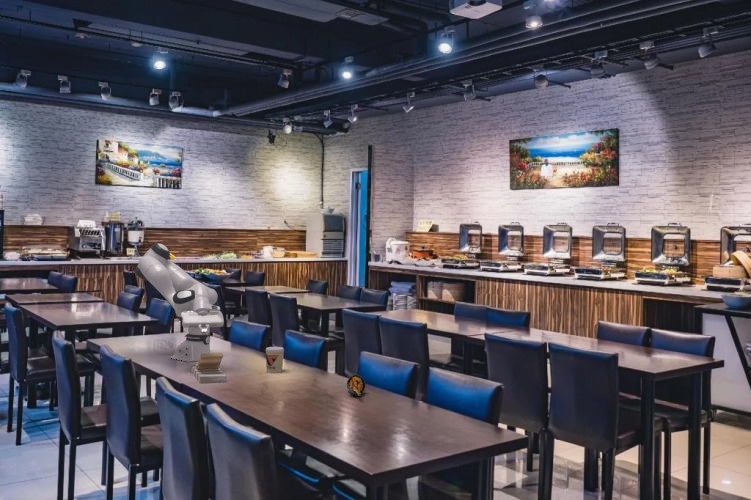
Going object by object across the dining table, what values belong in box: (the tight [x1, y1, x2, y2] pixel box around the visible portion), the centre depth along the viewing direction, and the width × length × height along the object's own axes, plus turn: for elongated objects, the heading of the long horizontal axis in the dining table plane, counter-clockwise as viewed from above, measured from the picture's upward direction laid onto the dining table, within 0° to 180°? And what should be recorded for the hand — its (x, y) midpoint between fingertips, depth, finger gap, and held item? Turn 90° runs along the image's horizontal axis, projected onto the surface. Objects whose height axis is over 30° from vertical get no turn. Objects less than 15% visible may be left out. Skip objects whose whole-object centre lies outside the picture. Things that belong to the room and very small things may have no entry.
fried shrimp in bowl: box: [346, 374, 367, 397], centre depth 303 cm, size 9×11×18 cm
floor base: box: [190, 361, 227, 384], centre depth 333 cm, size 27×12×5 cm, turn 24°
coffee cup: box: [265, 346, 285, 374], centre depth 350 cm, size 9×9×12 cm
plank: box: [197, 352, 224, 370], centre depth 329 cm, size 13×10×2 cm
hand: (204, 333), depth 338 cm, fingers closed
